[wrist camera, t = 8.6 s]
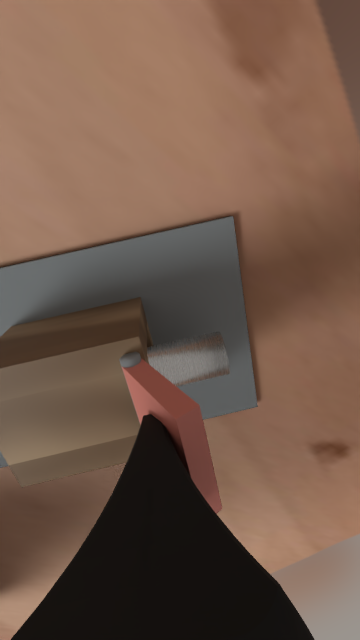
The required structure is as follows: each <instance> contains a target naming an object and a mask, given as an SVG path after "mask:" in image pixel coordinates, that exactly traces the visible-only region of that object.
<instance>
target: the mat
mask: <svg viewBox="0 0 360 640" xmlns="http://www.w3.org/2000/svg"><path fill="white" fill-rule="evenodd" d="M138 297H141V301H142V304H143V308H144V312H145V316H146V319H147V323H148V327H149V331H150V334H151V338H152V342H153V345H154V346H156V345H160V344H164V343H169V342H173V341H177V340H182V339H186V338H190V337H195V336H199V335H203V334H207V333H212V332H216V331H219V332H220V334H221V336H222V338H223V341H224V344H225V348H226V352H227V356H228V361H229V367H230V374H228V375H224V376H220V377H215V378H211V379H207V380H203V381H198V382H194V383H190V384H185V385H181V386H177V387H178V388H179V389H180V390H181V391H183V392H184V393H185V394H186V395H188V396H189V397H190V398H191V399H193V400H194V401H195V402H196V403H198V404H199V405H200V409H201V414H202V418H203V420H204V419H208V418H212V417H217V416H221V415H225V414H229V413H233V412H238V411H242V410H246V409H250V408H254V407H258V406H257V398H256V390H255V382H254V375H253V367H252V359H251V351H250V343H249V336H248V328H247V320H246V312H245V304H244V297H243V289H242V281H241V273H240V266H239V258H238V250H237V242H236V234H235V227H234V219H233V216H229V217H224V218H220V219H216V220H211V221H207V222H202V223H198V224H193V225H189V226H184V227H180V228H175V229H171V230H166V231H162V232H157V233H153V234H149V235H144V236H140V237H135V238H131V239H126V240H122V241H117V242H113V243H108V244H104V245H99V246H95V247H90V248H86V249H82V250H77V251H73V252H68V253H64V254H59V255H55V256H50V257H46V258H41V259H37V260H32V261H28V262H23V263H19V264H15V265H10V266H6V267H1V268H0V337H1V336H2V335H3V334H4V333H5V332H6V331H7V330H8V329H9V328H10V327H11V326H15V325H20V324H24V323H28V322H33V321H37V320H41V319H46V318H50V317H55V316H59V315H63V314H68V313H72V312H77V311H81V310H85V309H90V308H94V307H98V306H103V305H107V304H112V303H116V302H120V301H125V300H129V299H134V298H138ZM6 466H9V465H8V464H7V462H6V460H5V458H4V457H3V455H2V453H1V451H0V468H2V467H6Z"/></svg>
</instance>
